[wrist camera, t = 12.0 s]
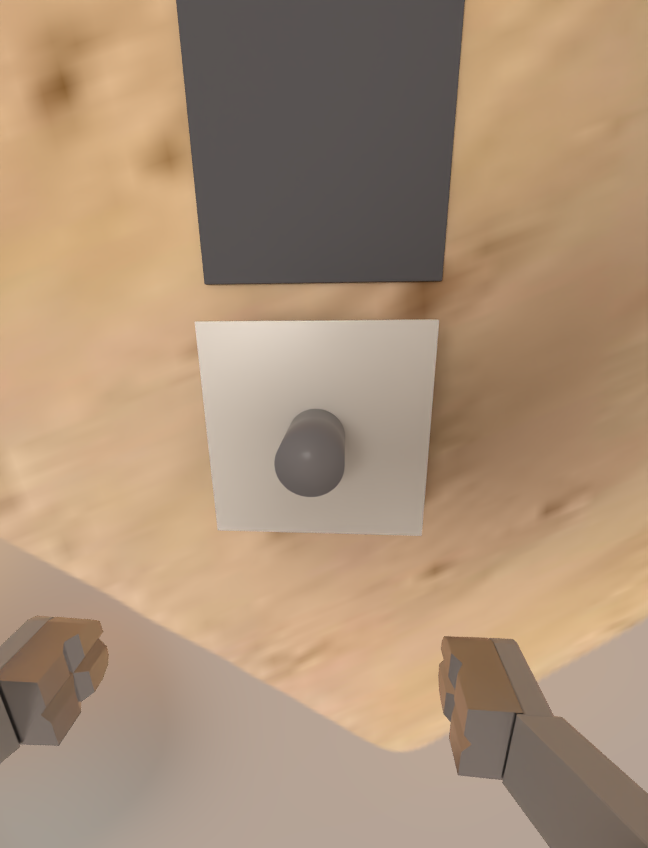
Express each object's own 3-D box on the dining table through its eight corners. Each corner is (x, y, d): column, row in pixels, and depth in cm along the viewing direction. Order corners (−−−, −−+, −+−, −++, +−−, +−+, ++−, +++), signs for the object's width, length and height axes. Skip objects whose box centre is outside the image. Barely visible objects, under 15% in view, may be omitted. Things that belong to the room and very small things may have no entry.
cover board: (435, 319, 21) (463, 322, 16) (419, 529, 25) (437, 583, 20) (199, 321, 22) (156, 324, 17) (221, 523, 26) (191, 574, 21)
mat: (465, -36, 21) (468, -44, 21) (440, 281, 26) (442, 280, 26) (177, -17, 22) (173, -24, 22) (207, 284, 27) (204, 284, 27)
